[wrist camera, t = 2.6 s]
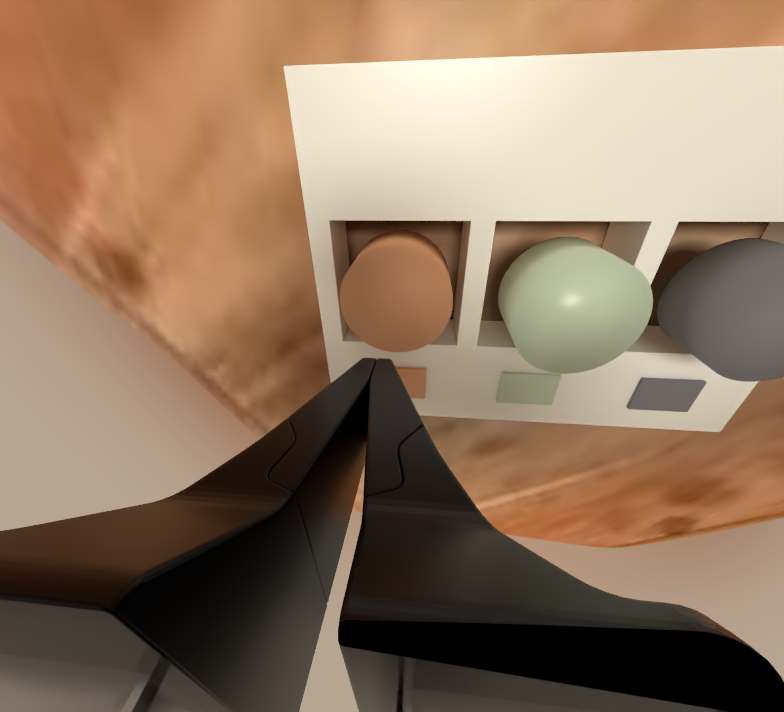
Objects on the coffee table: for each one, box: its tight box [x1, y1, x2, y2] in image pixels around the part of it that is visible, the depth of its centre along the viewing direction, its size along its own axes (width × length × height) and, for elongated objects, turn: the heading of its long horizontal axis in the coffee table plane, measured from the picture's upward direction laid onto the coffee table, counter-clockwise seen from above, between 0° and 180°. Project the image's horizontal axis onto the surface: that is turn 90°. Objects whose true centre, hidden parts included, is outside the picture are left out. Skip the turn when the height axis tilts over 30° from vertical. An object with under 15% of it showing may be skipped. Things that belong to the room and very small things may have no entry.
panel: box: [284, 46, 784, 432], centre depth 16 cm, size 22×16×3 cm
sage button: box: [498, 237, 653, 374], centre depth 13 cm, size 5×5×3 cm
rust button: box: [340, 230, 453, 352], centre depth 15 cm, size 5×5×3 cm
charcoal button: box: [657, 238, 784, 382], centre depth 13 cm, size 5×5×3 cm
